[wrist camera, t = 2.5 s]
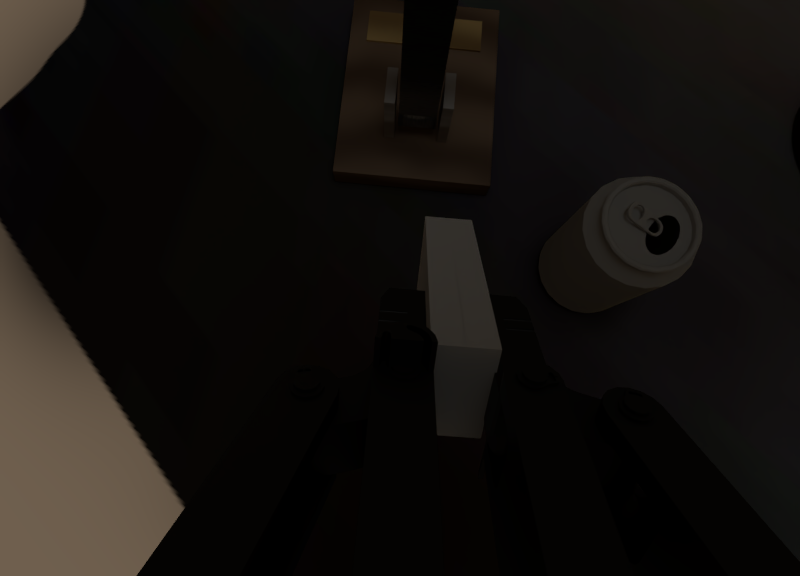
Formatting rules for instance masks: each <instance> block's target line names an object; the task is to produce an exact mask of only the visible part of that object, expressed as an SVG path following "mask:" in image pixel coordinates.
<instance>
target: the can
mask: <svg viewBox="0 0 800 576" xmlns="http://www.w3.org/2000/svg"><path fill="white" fill-rule="evenodd" d="M702 227H703V224H702V221H701V217H700V214H699V210H698V209H697V207H696V205H695V204H694V202H693V201H692V199H691V198H690V196H689V195H688V194H686V193H685V192H684V191H683V190H682V189H681V188H680V187H678V186H677V185H675V184H673V183H671V182H669V181H667V180H665V179H662V178H656V177H651V176H643V177H629V178H620V179H617V180H615V181H612V182H610V183H608V184H606V185H604V186H602V187H601V188H600V189H599V190H598V191H597V192H596V193H595V194H594V195H593V196H592V197H591V198H590V199H589V200H588V201H587V202H586V203H585V204H584V205H583V206H582V207H581V208H580V209H579V210H578V211H577V212H576V213H575V214H574V215H573V216H572V217H571V218H570V219H569V220H568V221H567V222H565V223H564V224H563V225H562V226H561V227H560V228H559V229H558V230H557V231H556V232H555V233H554V234H553V235H552V236H551V237H550V238H549V239H548V240H547V241H546V242H545V244H544V246H543V248H542V250H541V253H540V257H539V265H538V268H539V273H540V278H541V282H542V284H543V285H544V287H545V289H546V291H547V293H548V294H549V295H550V296H551V297H552V298H553V299H554V300H555V301H556V302H557V303H558V304H560V305H562V306H564V307H565V308H567V309H569V310H571V311H576V312H581V313H593V312H600V311H603V310H605V309H608V308H610V307H613V306H615V305H618V304H620V303H623V302H625V301H628V300H630V299H633V298H635V297H638V296H640V295H643V294H645V293H648V292H650V291H653V290H655V289H657V288H660V287H662V286H665V285H667V284H669V283H671V282H673V281H675V280H677V279H679V278H680V277H681V276H682V275H683V274H684V273H685V272H686V270H687V269H688V268H689V267H690V266H691V264H692V262H693V260H694V257H695V255H696V253H697V250H698V248H699V246H700V243H701V241H702Z"/></svg>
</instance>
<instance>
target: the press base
mask: <svg viewBox="0 0 800 576" xmlns="http://www.w3.org/2000/svg"><path fill="white" fill-rule="evenodd" d="M403 15H404V1H398V0H355V1H354V9H353V17H352V25H351V33H350V41H349V48H348V56H347V64H346V72H345V80H344V88H343V96H342V103H341V111H340V119H339V127H338V135H337V143H336V151H335V159H334V166H333V174H334V178H335V181H337V182H347V183H358V184H368V185H379V186H390V187H400V188H411V189H421V190H432V191H443V192H453V193H464V194H474V195H486V193H487V191H488V189H489V187H490V178H491V159H492V140H493V121H494V102H495V83H496V64H497V45H498V26H499V10H490V9H479V8H469V7H459V6H457V11H456V16H455V21H454V27H453V32H452V38H451V43H450V48H449V54H448V59H447V65H446V70H445V76H444V81H443V86H442V92H441V97H440V103H439V108H438V114H437V120H436V126H435V129H428V128H418V127H408V126H398V117H399V98H400V77H401V56H402V35H403Z"/></svg>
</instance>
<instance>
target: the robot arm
mask: <svg viewBox="0 0 800 576" xmlns="http://www.w3.org/2000/svg"><path fill="white" fill-rule="evenodd" d="M793 139H794V148H795V153H796V157H797V160H798V163H799V166H800V110H799V112H798V114H797V117H796V120H795V125H794V136H793ZM484 423H485V430H486V436H487V440H486V444H485V448H484V452H483V456H482V460H481V464H480V468H479V474H478V479H483V476H484V472H486V479H487V486H488V493H489V500H490V507H491V515H492V522H493V529H494V536H495V543H496V550H497V557H498V564H499V572H500V576H800V562H799V561H798V560H797V558H796V557H795V556H794V555H793V554H792V553H791V552H790V551H789V549H788V548H787V547H786V546H785V545H784V544H783V543H782V541H781V540H780V539H779V538H778V537H777V536H776V535H775V534H774V532H773V531H772V530H771V529H770V528H769V527H768V526H767V524H766V523H765V522H764V521H763V520H762V519H761V518H760V516H759V515H758V514H757V513H756V512H755V511H754V510H753V509H752V507H751V506H750V505H749V504H748V503H747V502H746V501H745V499H744V498H743V497H742V496H741V495H740V494H739V493H738V491H737V490H736V489H735V488H734V487H733V486H732V485H731V484H730V482H729V481H728V480H727V479H726V478H725V477H724V476H723V474H722V473H721V472H720V471H719V470H718V469H717V468H716V467H715V465H714V464H713V463H712V462H711V461H710V460H709V459H708V457H707V456H706V455H705V454H704V453H703V452H702V451H701V449H700V448H699V447H698V446H697V445H696V444H695V443H694V442H693V440H692V439H691V438H690V437H689V436H688V435H687V434H686V432H685V431H684V430H683V429H682V428H681V427H680V426H679V424H678V423H677V422H676V421H675V420H674V419H673V418H672V417H671V415H670V414H669V413H668V412H667V411H666V410H665V409H664V407H663V406H662V405H660V404H659V403H658V402H657V401H656V400H655V399H654V398H652V397H650V396H648V395H646V394H645V393H643V392H641V391H637V390H634V389H631V388H621V387H617V388H613V389H610V390H608V391H607V392H606V393H605V394H604V395H603V397H602V399H597V398H594V397H591V396H587V395H584V394H581V393H578V392H576V391H573V390H570V389H569V388H567V387H565V384H564V381H563V380H562V378H561V377H560V375H559V374H558V373H557V372H556V371H555V370H554V369H552V368H551V367H550V366H547V365H546V363H545V361H544V358H543V355H542V352H541V349H540V346H539V343H538V340H537V337H536V334H535V332H534V328H533V325H532V322H531V319H530V316H529V313H528V310H527V308H526V307H525V306H524V305H523V304H522V303H521V302H520V301H519V300H518V299H517V298H516V297H511V296H499V295H489V292H488V287H487V283H486V279H485V275H484V270H483V266H482V262H481V258H480V253H479V249H478V245H477V241H476V236H475V232H474V228H473V224H472V220H463V219H451V218H439V217H427V216H425V224H424V233H423V241H422V250H421V259H420V267H419V276H418V285H417V290H408V289H396V288H389V289H388V290H387V291H386V293H385V294H384V295H383V296H382V297H381V303H380V312H379V322H378V332H377V334H376V336H375V347H374V361H373V362H372V364H371V365H370V366H369V367H368V368H367V369H366V370H364V371H363V372H361V373H358V374H356V375H353V376H349V377H344V378H338V379H337V377H336V376H335V375H334V374H333V373H332V372H331V371H330V370H328V369H325V368H323V367H320V366H314V365H303V366H297V367H294V368H292V369H289V370H287V371H285V372H284V373H283V374H282V375H281V376H280V377H278V378H277V380H276V381H275V382H274V384H273V385H272V387H271V388H270V389H269V391H268V392H267V394H266V395H265V396H264V398H263V399H262V401H261V402H260V403H259V405H258V406H257V408H256V409H255V410H254V412H253V413H252V415H251V416H250V417H249V419H248V420H247V422H246V423H245V424H244V426H243V427H242V429H241V430H240V431H239V433H238V434H237V436H236V437H235V439H234V440H233V441H232V443H231V444H230V446H229V447H228V448H227V450H226V451H225V453H224V454H223V455H222V457H221V458H220V460H219V461H218V462H217V464H216V465H215V467H214V468H213V469H212V471H211V472H210V474H209V475H208V476H207V478H206V479H205V481H204V482H203V483H202V485H201V486H200V488H199V489H198V490H197V492H196V493H195V495H194V496H193V497H192V499H191V500H190V502H189V503H188V504H187V506H186V507H185V509H184V510H183V511H182V513H181V514H180V516H179V517H178V518H177V520H176V522H175V523H174V524H173V526H172V527H171V528H170V530H169V531H168V532H167V534H166V535H165V537H164V538H163V540H162V541H161V542H160V544H159V545H158V547H157V548H156V549H155V551H154V552H153V554H152V555H151V556H150V558H149V559H148V561H147V562H146V564H145V565H144V566H143V568H142V569H141V570H140V572H139V573H138V575H137V576H292V574H293V572H294V570H295V568H296V565H297V563H298V561H299V559H300V556H301V554H302V552H303V550H304V548H305V545H306V543H307V541H308V539H309V536H310V534H311V532H312V530H313V527H314V525H315V523H316V521H317V519H318V516H319V514H320V512H321V510H322V507H323V505H324V503H325V501H326V498H327V496H328V494H329V492H330V490H331V487H332V485H333V483H334V481H335V478H336V474H337V473H341V472H345V471H350V470H354V469H359V468H363V473H362V483H361V493H360V503H359V513H358V523H357V533H356V543H355V553H354V563H353V573H352V576H445V575H444V556H443V537H442V519H441V500H440V481H439V462H438V444H437V435H440V436H454V437H468V438H481V436H482V431H483V427H484ZM638 484H639V485H638ZM639 486H640V487H641V488H640V487H639ZM641 489H642V490H643V491H642V490H641Z"/></svg>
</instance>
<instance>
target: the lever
mask: <svg viewBox="0 0 800 576" xmlns="http://www.w3.org/2000/svg"><path fill="white" fill-rule="evenodd" d="M457 5H458V0H404V15H403V35H402V56H401V77H400V98H399V117H398V126H408V127H418V128H428V129H435V126H436V120H437V114H438V108H439V103H440V97H441V92H442V86H443V81H444V76H445V70H446V65H447V59H448V54H449V48H450V43H451V38H452V32H453V27H454V21H455V16H456V11H457Z"/></svg>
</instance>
